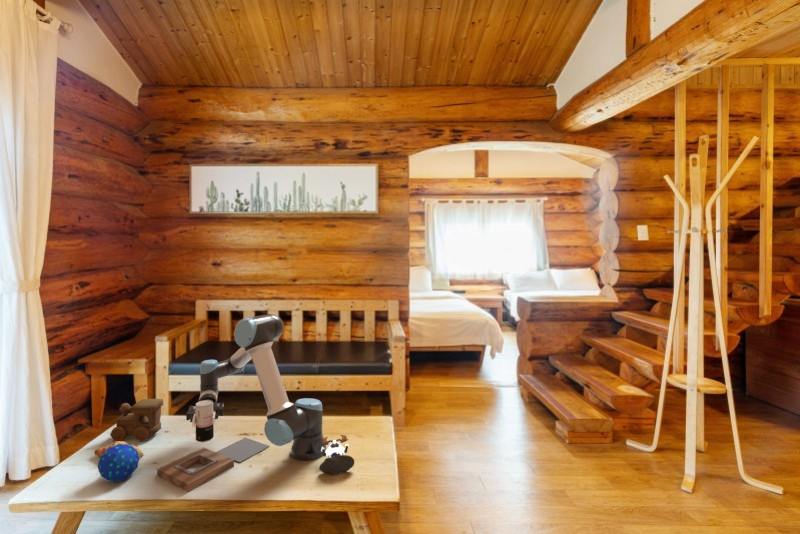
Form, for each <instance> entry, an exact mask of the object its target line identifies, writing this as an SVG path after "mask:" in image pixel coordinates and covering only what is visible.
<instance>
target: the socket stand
mask: <svg viewBox="0 0 800 534" xmlns="http://www.w3.org/2000/svg"><path fill="white" fill-rule="evenodd" d="M216 452H217V451H213V450H211V449H209V448H206V447H204V446H203V447H201V448H199V449H197V450H194V451H192V452H190V453H188V454H186V455H183V456H182V457H179V458H177V459H175V460H173V461H171V462H169V463H166V464H164V465H162V466H160V467H158V468H156V477H157V476H158V477H157V478H159V477H160V478H159V479H161V478H162V479H161V480H163V479H164V481H165V480H166V482H167V481H168V482H167V483H169V482H170V483H169V484H171V483H172V485H174V486H175V487H177V488H179V489H181V490H183V491H186V492H191V491H192V490H195V489H196V488H199V487H200V486H201V485H203V484H205V483H207V482H209V481H211V480H212V479H215V478H216V477H218V476H220V475H222V474H224V473H225V472H227V471H229V470H230V469H233V468H235V467H234V466H235V461H234V459H231V458H229V457H226V456H224V455H221V454H219V453H216ZM198 464H202V465H203V466H202V467H199V468H197V469H196V470H193V471H191V470H189V469H190V468H192V467H194V466H196V465H198Z"/></svg>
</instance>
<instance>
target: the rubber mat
mask: <svg viewBox="0 0 800 534" xmlns="http://www.w3.org/2000/svg"><path fill="white" fill-rule="evenodd" d="M268 447H269V448H270V445H268V444H265V443H262V442H260V441H257V440H253V439H251V438H248V437H243V438H242V439H239V440H238V441H235V442H233V443H232V444H229V445H226V446H225V447H223V448H222V449H219V450H217V451H215V452H216V453H219V454H221V455H224V456H226V457H229V458H231V459H234V462H235V463H238V464H242V463H243V462H245V461H247V460H249V459H250V458H252V457H254V456H256V455H258V454H259V452H260V453H261V451H262V452H263V451H265V450H266V448H267V449H268Z"/></svg>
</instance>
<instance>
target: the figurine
mask: <svg viewBox="0 0 800 534" xmlns="http://www.w3.org/2000/svg"><path fill="white" fill-rule="evenodd" d="M340 436H341V438H338V439H334V440H332V439H330V440H328V438H329V436H325V437H324V438H323V441H322V443H321V444H323V445H326V446H327V447H326V451H324V448H323V447H322V449H321V451H322V453H323V455H322V456H323V457H324V458H325V459H324V461H323V462H322V463H321V464H320V466H319V471H320V472H322V473H324V474H333V475H340V474H343V472H344V473H346V472H348V471H350V469H352V468H353V467H354V465H355V459H354V457H353V456H351V455H346V454H347V453H348V450H349V447H350V445H349V443H346V444H345V445H344V446H345V447H344V446H343V445H342V443H344V442H347V441H349V438H348V436H347V435H346V434H340ZM330 442H331V443H330Z"/></svg>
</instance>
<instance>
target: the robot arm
mask: <svg viewBox="0 0 800 534" xmlns="http://www.w3.org/2000/svg"><path fill="white" fill-rule="evenodd" d="M284 329H285V324H284V321H283V320H282V319H281V317H280V316H278V315H276V314H273V313H268V314H262V315H255V316H249V317H247V318H244V319H243V318H242V319H240V320H238V321H237V324H236V325H235V329H234V333H233V336H234V341H235V343H236V344H237V345H238V347H240V348H239V349H238V350H237V351H235V353H233V354H232V355H231V356H229V358H228V359H225V360H221V361H218V360H217V359H205V360H203V361H201V362H200V365H199V377H200V383H199V385H200V386H199V387H200V388H199V389H200V395H199V398H198V402H199V401H203V400H211V401H213V418H212V419H213V425H215V424H216V423H215V422H216V420H218V419H219V417H223V416H224V401H220V402H219V403H218V395H219V379H221V378H226V377H228V376H231V375H235V374H238V373H240V372H243V371H244V370H245V368H246V364H247V363H249V362H250V361H252V363H253V366H254V369H255V372H256V376H257V379H258V381H259V385H260V389H261V390H262V394H263V397H264V400H265V403H266V406H267V409H268V411H267V413H266V421H265V424H264V426H263V427H264V428H263V429H264V430H263V431H264V433H265V437H266V439H267V440H268V441H269V442H270V443H271V444H272V445H275V446H278V447H282V446H285V445H287V444H289V443H291V442H292V444H291V448H290V449H291V450H290V454H291V456H292V457H293V458H294V459H296V460H299V461H311V460H315V459H319V458H321V457H322V456H323V453H322V451H321V449H322V447H323V448H324V451H326V449H327V445H323V444H321V443H322V441H323V438H325V437H324V434H323V410H324V409H323V404H322V401H320V400H319V399H317V398H306V397H304V398H298V399H297V400H296V401H295V403H294V402H290V400H289V398H288V393H287V391H286V388H285V385H284V383H283V379H282V376H281V373H280V370H279V368H278V365H277V364H278V363H277V361H276V359H275V355H274V352H273V350H272V346H273V344H274V343H275V342H276V341H277V340H278V339H279V338H280V337H281V336H282V335H283V333H284ZM185 418H186V419H185V420H186V421H189V423H191V425H192V428H196V416H195V406H193V405H192V404H191V405H189V408H188V410H187V412H186V415H185Z"/></svg>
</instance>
